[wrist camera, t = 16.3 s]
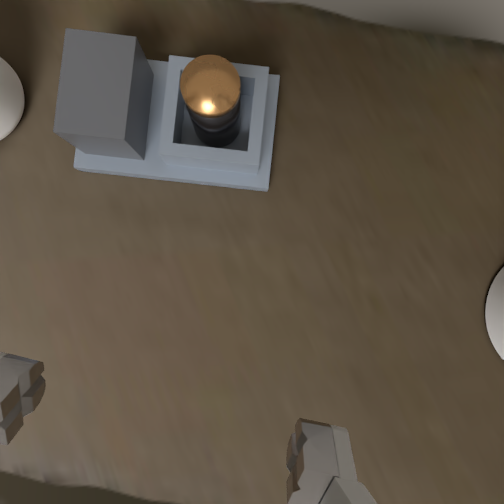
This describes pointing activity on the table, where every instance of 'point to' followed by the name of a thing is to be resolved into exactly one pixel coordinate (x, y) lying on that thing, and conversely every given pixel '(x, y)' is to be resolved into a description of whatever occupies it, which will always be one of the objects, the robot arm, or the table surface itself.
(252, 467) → the table surface
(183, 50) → the table surface
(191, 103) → the cylinder
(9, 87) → the cup
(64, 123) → the checker
